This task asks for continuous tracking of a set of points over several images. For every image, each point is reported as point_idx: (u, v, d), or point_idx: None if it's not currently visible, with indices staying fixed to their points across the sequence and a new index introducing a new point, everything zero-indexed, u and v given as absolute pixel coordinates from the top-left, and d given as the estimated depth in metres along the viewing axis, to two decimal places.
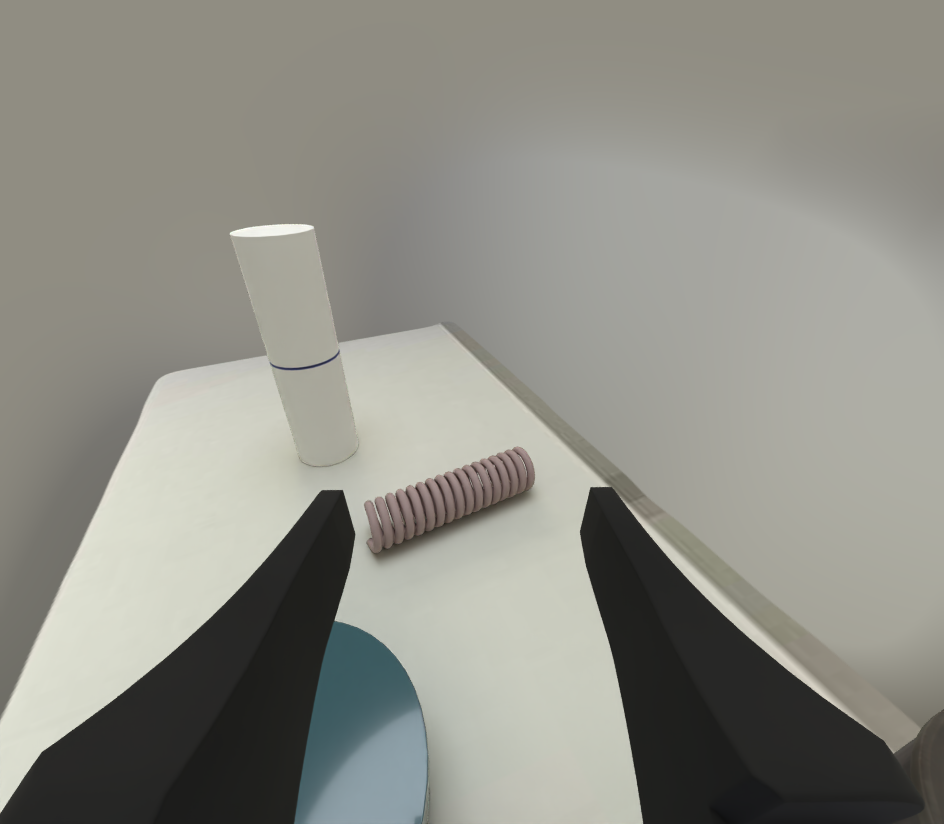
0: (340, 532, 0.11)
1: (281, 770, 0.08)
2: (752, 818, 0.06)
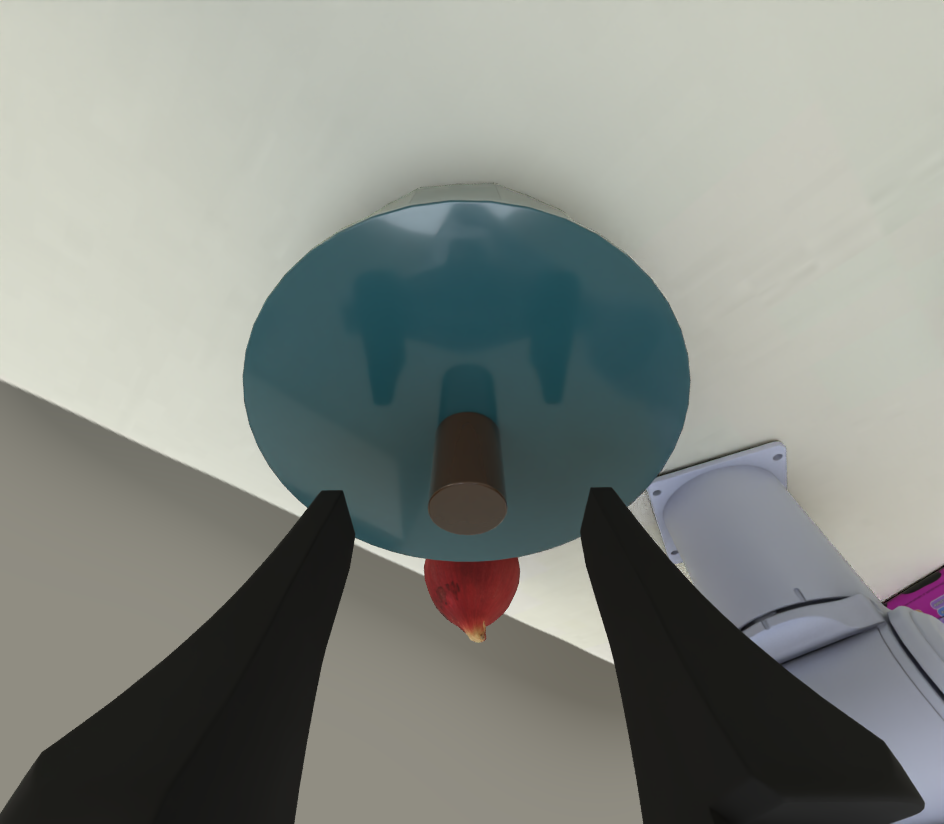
0: (340, 532, 0.11)
1: (281, 770, 0.08)
2: (752, 818, 0.06)
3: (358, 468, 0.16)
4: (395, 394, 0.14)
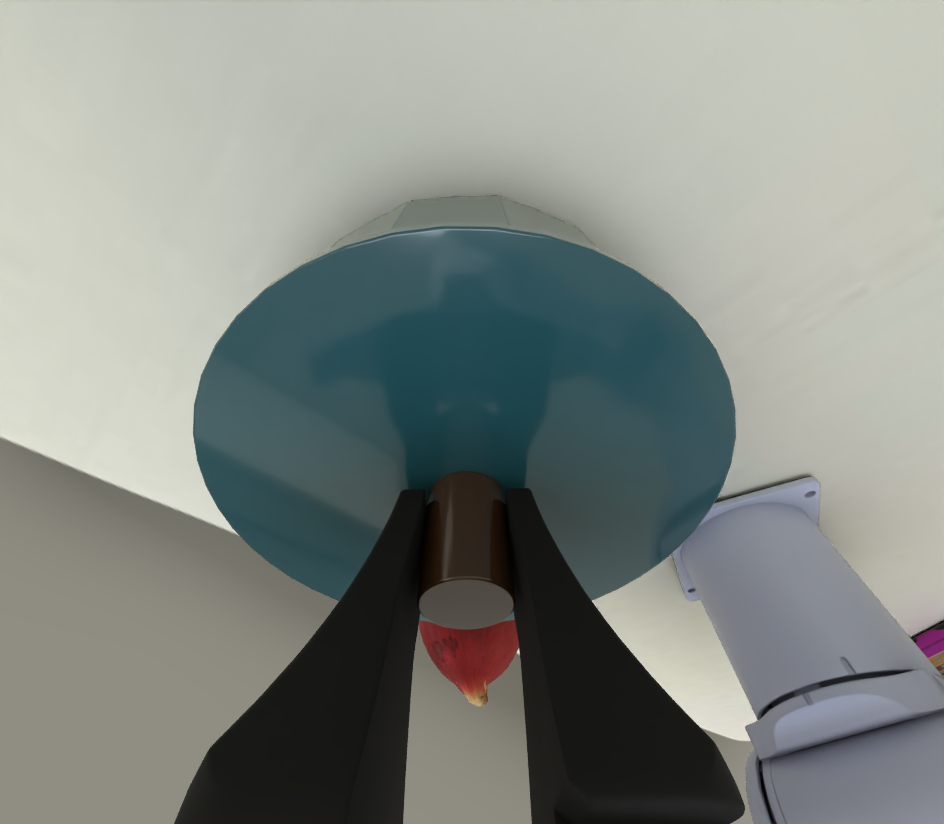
0: (423, 531, 0.11)
1: (397, 769, 0.08)
2: (580, 820, 0.06)
3: (338, 530, 0.13)
4: (379, 452, 0.11)
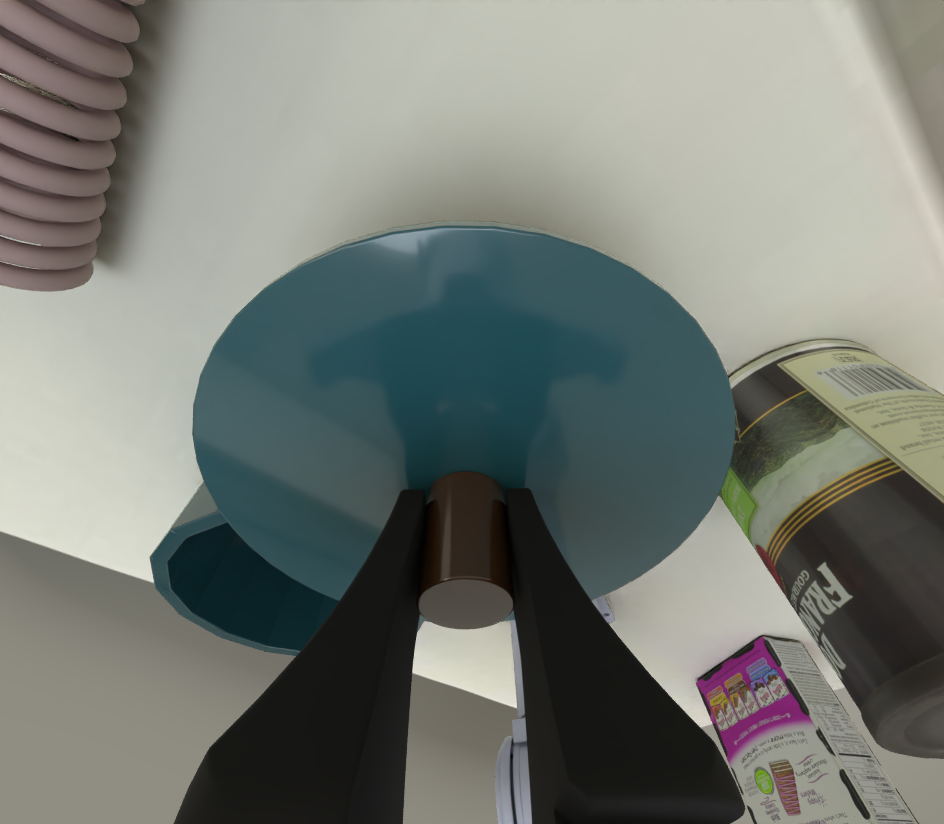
0: None
1: (397, 769, 0.08)
2: (580, 820, 0.06)
3: (338, 530, 0.13)
4: (378, 452, 0.11)
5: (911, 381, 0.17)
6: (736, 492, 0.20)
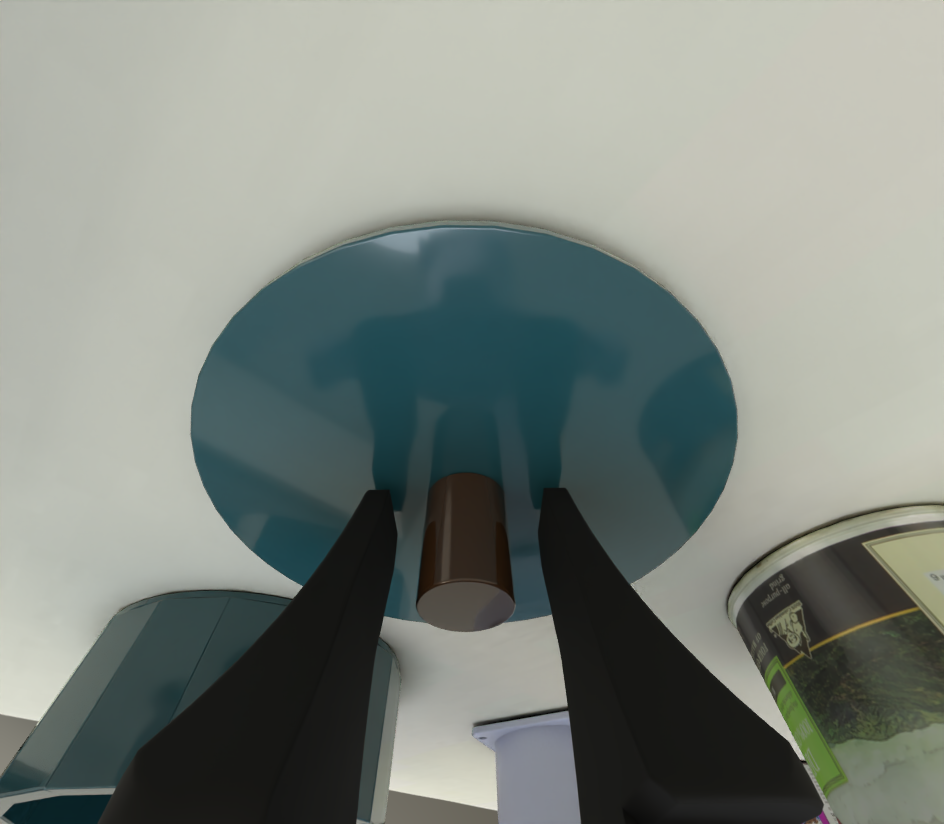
0: (388, 531, 0.11)
1: (347, 769, 0.08)
2: (656, 819, 0.06)
3: (337, 531, 0.13)
4: (378, 453, 0.11)
5: None
6: (805, 730, 0.14)
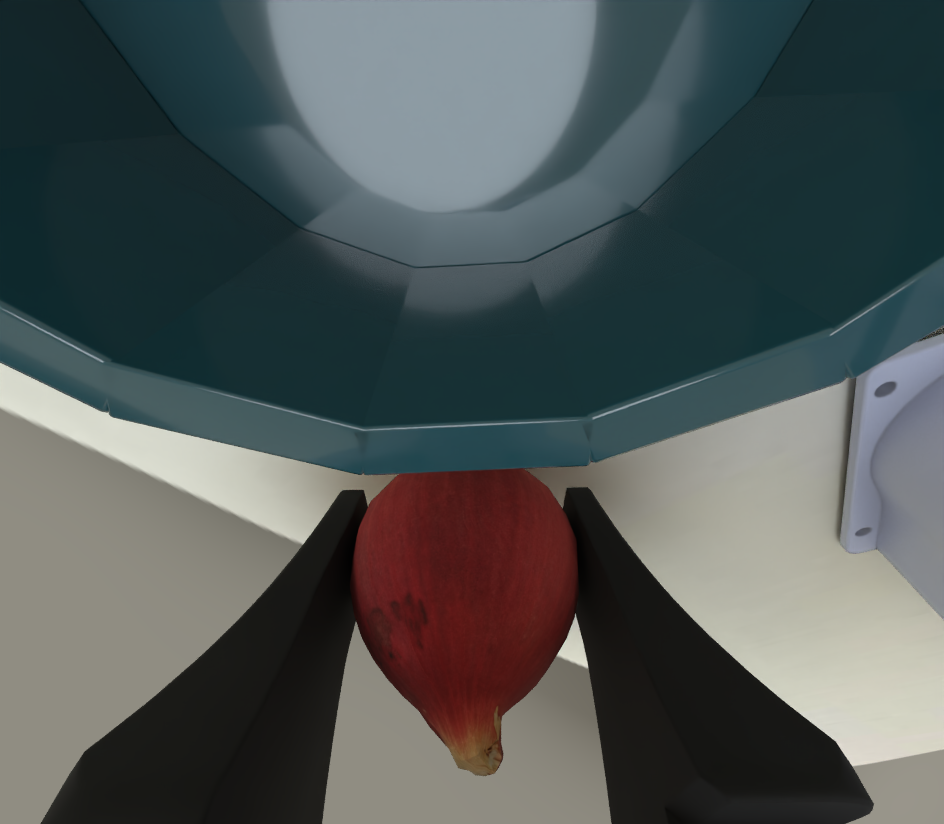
0: None
1: (311, 770, 0.08)
2: (703, 819, 0.06)
3: None
4: None
5: None
6: None
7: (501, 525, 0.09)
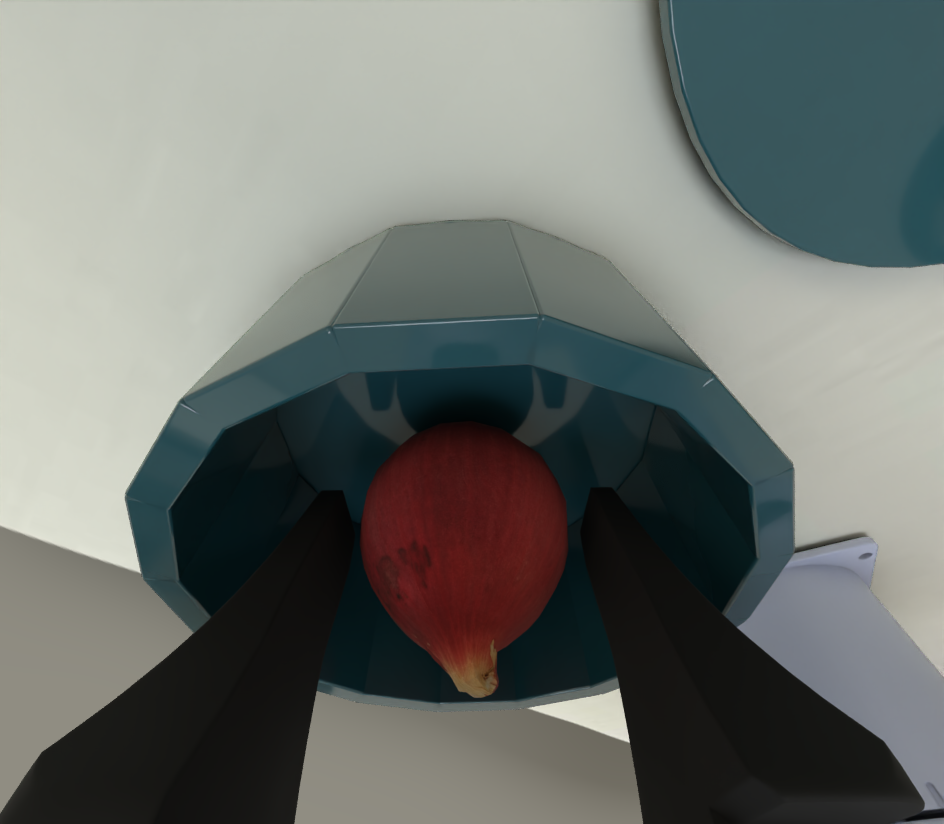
0: (340, 532, 0.11)
1: (281, 770, 0.08)
2: (752, 818, 0.06)
3: None
4: None
5: None
6: None
7: (497, 481, 0.10)
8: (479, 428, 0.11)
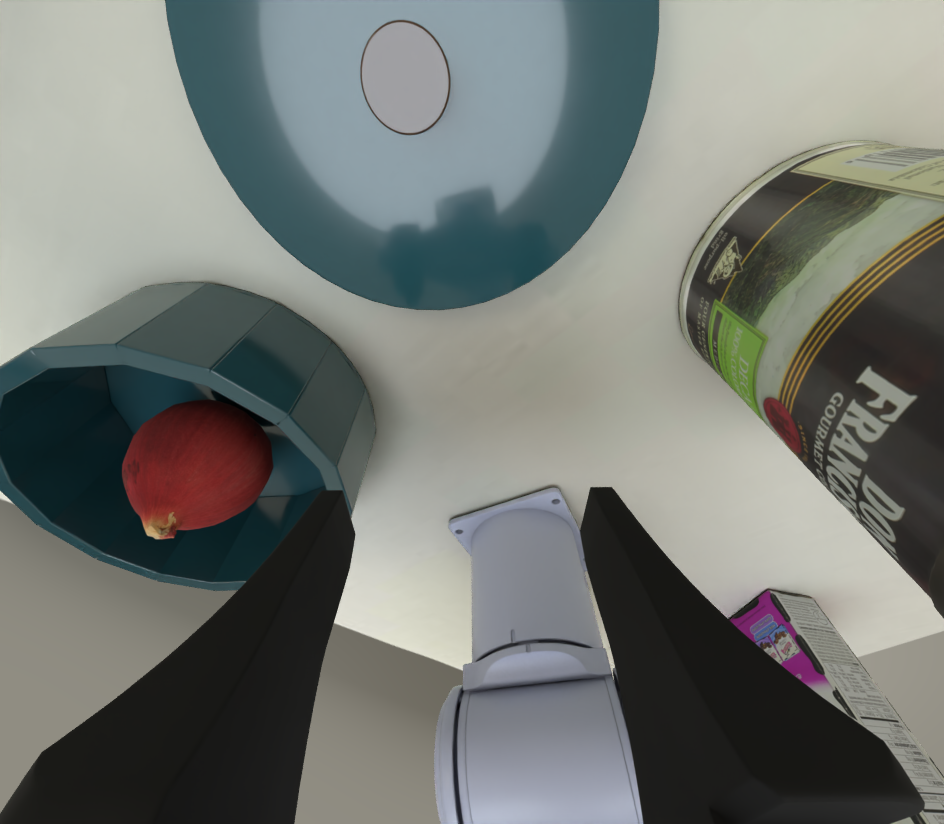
0: (340, 532, 0.11)
1: (281, 770, 0.08)
2: (752, 818, 0.06)
3: (302, 142, 0.14)
4: (333, 8, 0.12)
5: None
6: (737, 338, 0.15)
7: (188, 429, 0.17)
8: (203, 402, 0.19)
